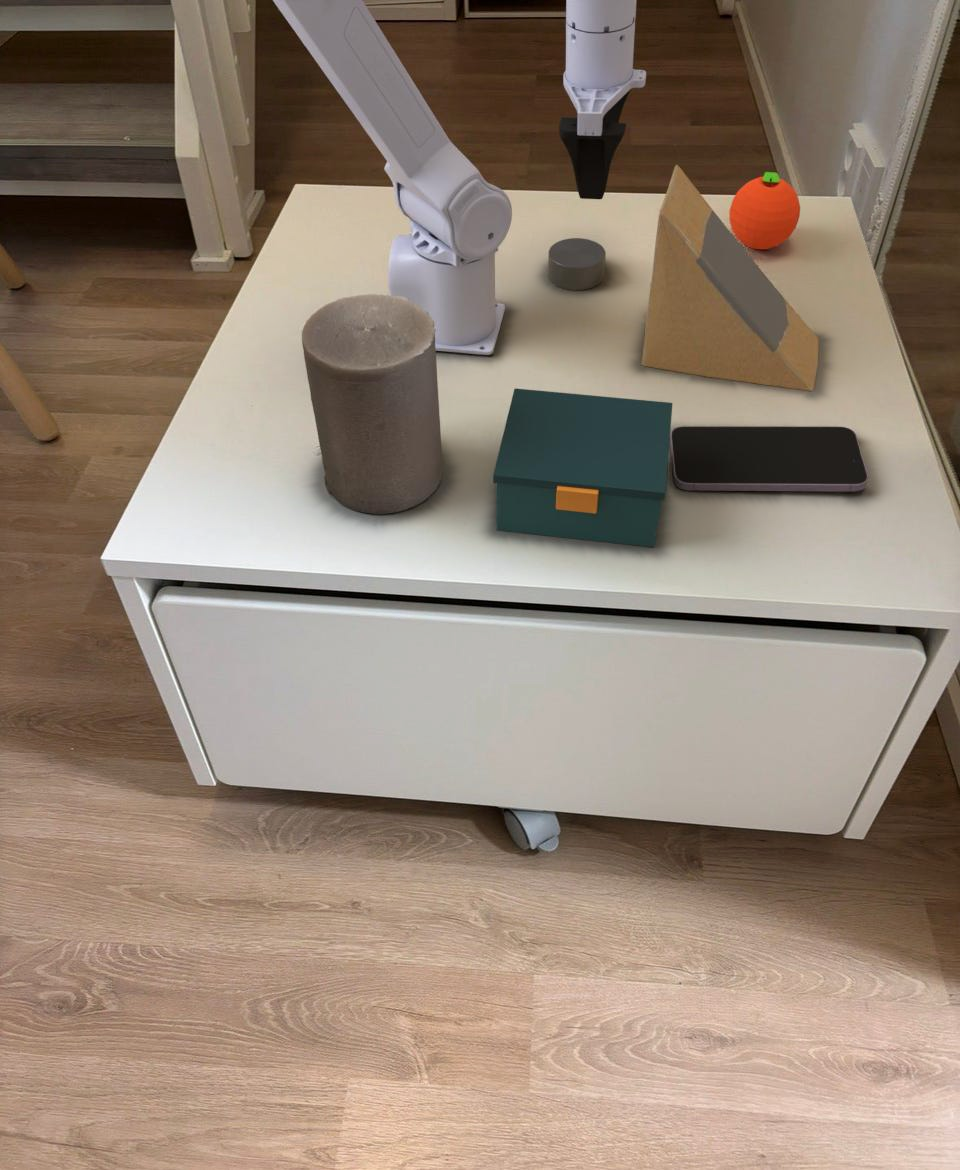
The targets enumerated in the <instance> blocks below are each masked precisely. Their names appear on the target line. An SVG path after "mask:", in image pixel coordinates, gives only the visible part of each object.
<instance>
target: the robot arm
mask: <svg viewBox="0 0 960 1170" xmlns="http://www.w3.org/2000/svg"><path fill="white" fill-rule="evenodd" d="M565 1H566V2H565V4H566V5H565V71H564V72H563V77H562V78H563V80H562V82H563V87H564V89H565V92H566V94H567V95H568V97H569V99H570V101H571V102H572V104H573V106H574V109H575V110H576V113H577V117H566V116H565V117H562V116H561V117H560V120H559V124H558V134H559V138H560V141H562V144H563V145H564V147H565V148H566V151H567V154H568V155H569V158H570V161H571V165H572V169H573V174H574V179H575V185H576V190H577V193H578V196H579V199H581V200H603V198H604V195H605V192H606V189H607V185H608V180H609V174H610V170H611V164H612V162H613V158H614V156H615V153H616V151H617V148H618V146H619V145H620V143H621V142H622V140H623V138H624V136H625V133H626V128H627V123H625V122H620V119H621V115H622V111H623V109H624V105H625V103H626V100H627V98H628V96H629V94H630V92H631V90H632V89H641V88H644V87H645V86H646V80H647V71H646V70H644V69H634V67H633V66H634V53H635V52H634V51H635V33H636V18H637V0H565ZM272 2H273V3H274V5H275V6H276V7H277V9H278V11H279V12H280V13H281V14H282V16H283V17H284V19H285V21H287V22H288V24H289V25H290V27H291V29H292V30H293V31H294V32H295V34H296V35H297V37H298V38H299V40H300V42H302V44H303V45H304V47H305V48H306V49H307V51H308V52H309V53H310V55H311V56H312V58H313V59H314V61H315V63H316V64H317V65H318V66H319V67H320V69H321V70H322V72H323V73H324V75H325V76H326V77H327V79H328V80H329V82H330V83H331V85H332V86H333V87H334V89H335V90H336V92H337V93H338V94H339V95H340V98H341V99H342V100H343V101H344V103H345V104H346V106H347V107H348V108H349V110H350V111H351V113H352V114H353V115H354V117H355V118H356V120H357V121H358V123H359V124H360V125H361V126H362V128H363V130H364V131H365V132H366V134H367V135H368V136H369V138H370V139H371V141H372V142H373V144H374V145H375V146H376V148H377V149H378V150H379V152H380V153H381V155H382V157H383V158H384V159H385V161H386V163H385V165H384V168H383V169H384V172H385V173H386V174H387V176H388V178H389V179H390V181H391V183H392V186H393V191H394V192H393V193H394V199H395V203H396V206H397V207H398V209H399V211H400V212H401V213H402V214H403V215H404V216H405V217H407V218H408V219H409V225H410V227H409V228H410V234H399V235H395V237H394V238H393V240H392V243H391V245H390V246H391V247H390V250H389V255H388V265H387V266H388V269H387V283H388V295H389V296H401V297H405V298H407V299H408V300H409V301H411V302H413V303H415V304H417V305H419V306H420V307H421V308H423V309H424V310H425V311H426V312H428V313H429V316H430V317H431V319H432V320H433V321H434V324H435V325H434V328H435V329H436V331H435V348H436V352H437V351H438V352H448V353H460V354H469V355H470V354H472V355H482V356H491V355H492V354H493V353H494V351H495V347H496V344H497V340H498V337H499V333H500V329H501V325H502V322H503V319H504V316H505V311H506V305H505V304H504V303H502V302H501V303H500V302H499V303H498V302H496V253H497V252H498V251H499V247H500V246H501V245H502V244H503V242H504V240H505V239H506V237H507V235H508V233H509V230H510V228H511V224H512V220H513V219H512V218H513V207H512V202H511V199H510V197H509V196H508V195H507V193H506V192H505V191H504V190H503V189H501V188H500V187H498V186H496V185H494V184H492V183H489V182H487V181H486V180H485V178H484V177H483V175H482V174H481V172H480V171H479V169H478V168H477V167H476V166H475V165H474V164H473V163H472V162H471V160H469V158H467V157H466V156H465V155H464V154H463V153H462V151H461V150H460V149H458V148H457V146H456V145H455V144H454V143H453V142H452V141H451V140H450V138H449V137H448V135H447V134H446V132H445V130H444V129H443V127H442V125H441V123H439V121H438V119H437V117H436V116H435V114H434V113H433V111H432V110H431V107H429V105H428V103H427V101H426V100H425V98H424V97H423V95H422V93H421V92H420V90H419V89H418V87H417V86H416V83H415V82H414V81H413V79H412V77H411V76H410V74H409V72H408V71H407V69H406V68H405V66H404V65H403V63H402V61H401V60H400V58H399V57H398V55H397V53H396V52H395V50H394V49H393V47H392V45H391V43H390V42H389V40H388V39H387V37H386V36H385V34H384V32H383V31H382V30H381V27H380V26H379V25H378V23H377V21H376V20H375V18H374V16H373V15H372V13H371V12H370V10H369V9H368V7H367V5H366V4H365V2H364V1H363V0H272Z"/></svg>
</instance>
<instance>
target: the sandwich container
mask: <svg viewBox="0 0 960 1170" xmlns="http://www.w3.org/2000/svg"><path fill="white" fill-rule="evenodd" d="M657 218H658V219H657V227H656V236H655V243H654V244H655V245H654V252H653V260H652V262H653V263H652V268H651V269H652V270H651V278H650V286H649V294H648V305H647V312H646V322H645V328H644V329H645V330H644V336H643V337H644V338H643V348H642V357H641V365H642V366H643V367H648V368H656V369H660V370H666V371H672V372H677V373H684V374H689V375H694V376H695V375H696V376H701V377H707V378H713V379H714V378H715V379H722V380H728V381H737V382H744V383H749V384H751V383H752V384H758V385H766V386H772V387H779V388H787V389H793V390H800V391H801V390H803V391H808V392H814V389H815V384H816V383H815V382H816V377H817V371H818V367H819V337H818V336H817V335H816V334H815V333H814V332H813V331H812V330H811V328H810V327H809V325H808V324H806V322H805V321H804V319H802V317H801V316H800V315H799V314H798V313H797V312H796V310H795V309H794V308H793V307H792V306H791V304H790V303H789V302H788V301H787V300H786V298H784V296H783V295H782V294H781V292H780V291H779V290H778V289H777V287H776V286H775V285H774V284H773V283H772V281H771V280H770V279H769V278H768V276H767V275H766V274H765V273H764V272H763V271H762V269H761V268H760V267H759V265H758V264H757V263H756V262H755V260H754V259H753V258H752V257H751V256H750V254H749V253H748V252H747V251H746V249H745V248H744V247H743V246H742V244H741V242H740V241H739V240H738V239H737V238H736V236H735V235H734V234H733V233H732V232H731V231H730V230H729V229H728V227H727V226H726V225H725V223H724V222H723V221H722V220H721V219H720V217H719V216H718V215H717V213H716V212H715V211H714V210H713V208H712V207H711V206H710V204H709V203H708V202H707V201H706V199H705V198H704V197H703V195H702V193H700V191H699V190H698V189H697V188H696V186H695V185H694V184H693V182H692V181H691V180H690V179H689V177H688V176H687V175H686V174H685V172H684V171H683V170H682V168H681V167H680V166H679V165H678V164H676V165H675V166H674V168H673V171H672V174H671V178H670V181H669V184H668V187H667V190H666V193H665V195H664V198H663V201H662V203H661V206H660V209H659V213H658V217H657Z"/></svg>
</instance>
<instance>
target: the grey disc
mask: <svg viewBox="0 0 960 1170" xmlns="http://www.w3.org/2000/svg"><path fill="white" fill-rule="evenodd" d="M606 253H607V252H606V250H605V248H604V246H603V245H601V244H600V243H598V242H597V241H594V240H591V239H588V238H584V237H583V238H582V237H569V238H564V239H561V240H559V241H556V242H555V243H553V244H552V245H551V247H549V250H548V259H547V260H548V262H547V278H548V279H549V281H550V282H551V283H552V284H554V285H555V286H556V287H559V288H561V289H565V290H568V291H569V290H570V291H583V290H589V289H593V288H595V287H597V286H598V285H600V284H601V283H602V281H603V280H604V278H605V266H606Z"/></svg>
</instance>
